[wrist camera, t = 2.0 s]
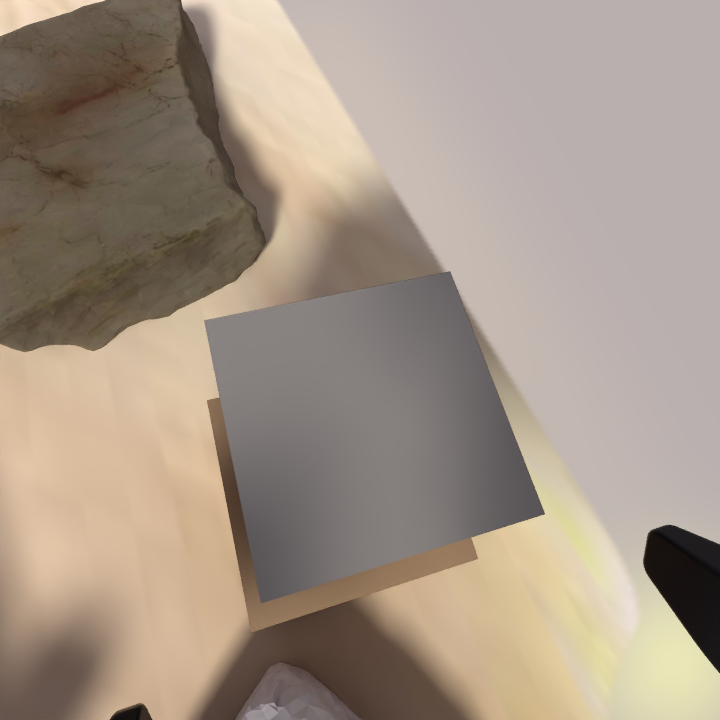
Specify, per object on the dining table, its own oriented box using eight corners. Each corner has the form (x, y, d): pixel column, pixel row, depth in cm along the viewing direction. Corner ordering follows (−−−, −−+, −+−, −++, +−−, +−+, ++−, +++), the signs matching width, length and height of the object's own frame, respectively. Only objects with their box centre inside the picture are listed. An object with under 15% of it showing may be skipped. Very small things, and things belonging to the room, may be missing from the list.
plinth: (444, 559, 19) (478, 558, 16) (260, 618, 18) (251, 632, 14) (390, 389, 22) (408, 353, 18) (223, 429, 20) (207, 400, 17)
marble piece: (191, 43, 28) (174, -39, 24) (333, 241, 25) (340, 181, 21) (-145, 151, 23) (-232, 70, 20) (-30, 417, 20) (-109, 382, 16)
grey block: (437, 534, 16) (545, 514, 9) (278, 584, 15) (261, 603, 8) (390, 386, 18) (450, 271, 11) (244, 422, 16) (204, 320, 10)
